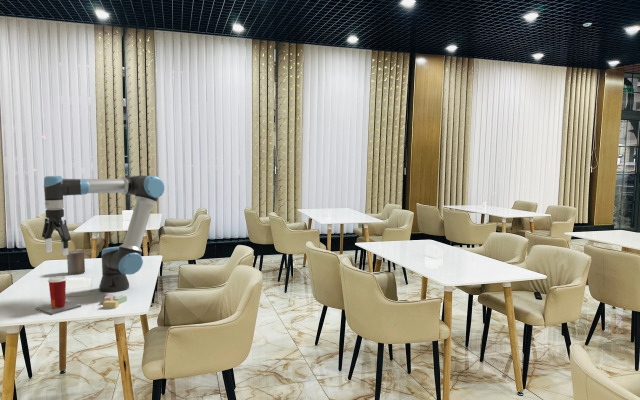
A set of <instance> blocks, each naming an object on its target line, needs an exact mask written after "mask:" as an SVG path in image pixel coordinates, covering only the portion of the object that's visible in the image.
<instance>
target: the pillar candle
mask: <svg viewBox="0 0 640 400" xmlns="http://www.w3.org/2000/svg"><path fill="white" fill-rule="evenodd" d="M66 259H67V274H68V275H69V274H77V275H82V274H85V273H86V267H85V266H86V265H85V250H81V249H79V250H77V249H75V250H70V251H69V250H68V255H66ZM84 272H85V273H84Z"/></svg>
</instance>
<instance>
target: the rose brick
mask: <svg viewBox="0 0 640 400" xmlns="http://www.w3.org/2000/svg"><path fill="white" fill-rule="evenodd" d="M113 298H114V294H106V296H105V297H104V298H103V302H104V301H113Z"/></svg>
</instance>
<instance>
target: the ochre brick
mask: <svg viewBox="0 0 640 400" xmlns="http://www.w3.org/2000/svg"><path fill="white" fill-rule="evenodd" d="M118 307H119V305H118V301H104V300H103V302H102V309H117V308H118Z"/></svg>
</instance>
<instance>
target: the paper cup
mask: <svg viewBox="0 0 640 400" xmlns="http://www.w3.org/2000/svg"><path fill="white" fill-rule="evenodd" d="M66 281H67V278H66V276H64V275H57V276H52V277H49V278H48V280H47V282H48V286H49V289H48V290H49V296H50V297H49V298H50V304H51V306H52V308H61V307H64V306H65V301H66V289H67V288H66V284H67V282H66Z"/></svg>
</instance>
